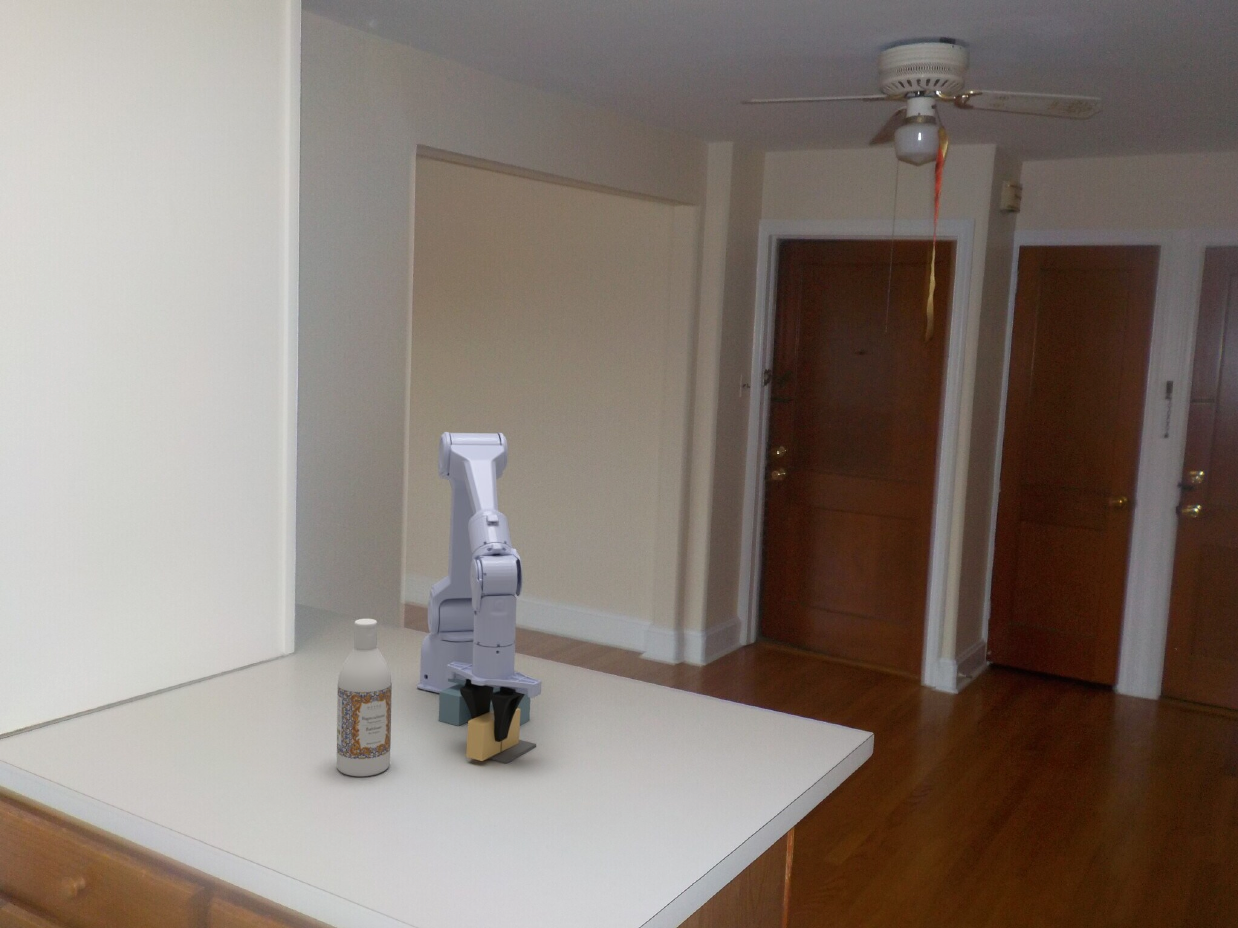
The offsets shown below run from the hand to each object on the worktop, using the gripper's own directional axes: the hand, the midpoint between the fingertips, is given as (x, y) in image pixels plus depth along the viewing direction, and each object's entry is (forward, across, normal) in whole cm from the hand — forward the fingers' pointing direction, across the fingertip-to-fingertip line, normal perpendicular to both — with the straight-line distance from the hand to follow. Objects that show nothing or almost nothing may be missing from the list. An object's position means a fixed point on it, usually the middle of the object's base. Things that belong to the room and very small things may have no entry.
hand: (491, 736), depth 151 cm
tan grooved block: (+2, 0, 0) cm, 2 cm away
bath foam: (+3, -12, -13) cm, 18 cm away
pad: (+3, 0, +2) cm, 4 cm away
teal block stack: (+3, -8, +10) cm, 14 cm away
